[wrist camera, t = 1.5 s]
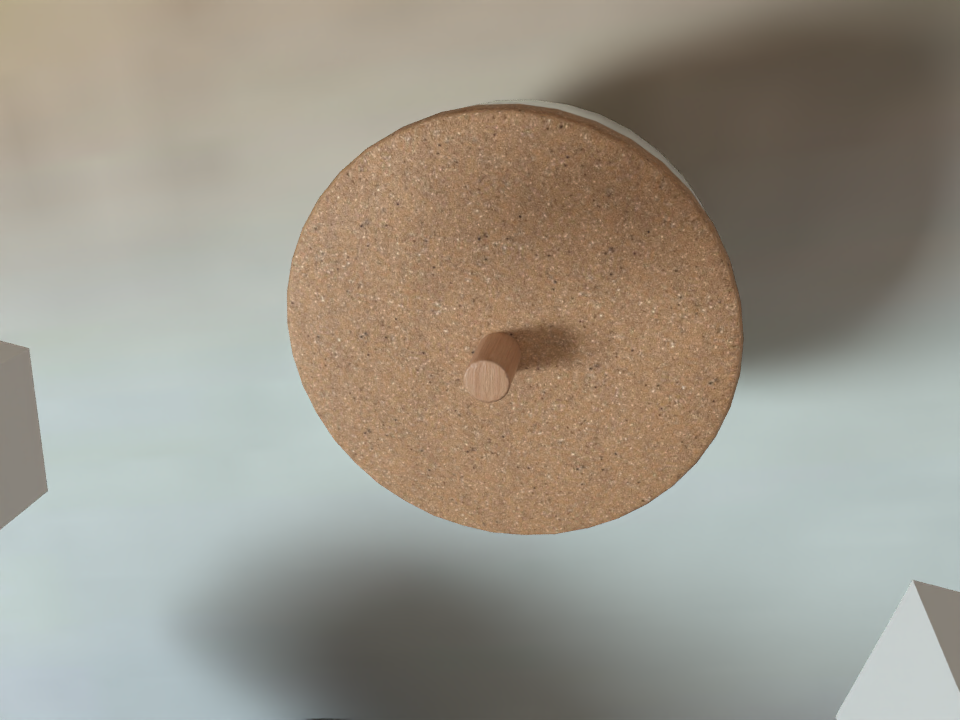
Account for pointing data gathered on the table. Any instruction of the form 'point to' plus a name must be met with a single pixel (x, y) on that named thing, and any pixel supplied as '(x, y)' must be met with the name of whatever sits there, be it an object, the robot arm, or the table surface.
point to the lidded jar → (516, 317)
